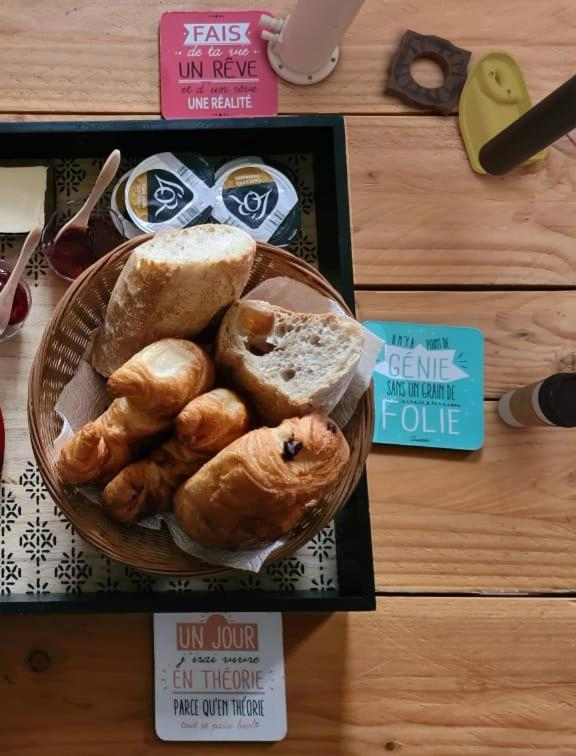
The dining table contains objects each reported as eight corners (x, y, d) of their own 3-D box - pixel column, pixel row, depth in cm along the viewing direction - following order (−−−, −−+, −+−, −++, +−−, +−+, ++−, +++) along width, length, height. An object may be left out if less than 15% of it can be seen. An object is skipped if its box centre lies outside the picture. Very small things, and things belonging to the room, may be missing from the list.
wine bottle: (471, 148, 114) (619, 33, 84) (504, 135, 114) (662, 16, 85) (488, 181, 113) (643, 76, 84) (520, 168, 114) (686, 59, 84)
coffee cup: (550, 407, 122) (617, 396, 108) (519, 444, 121) (583, 438, 107) (510, 373, 123) (572, 358, 108) (479, 410, 122) (537, 399, 107)
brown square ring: (378, 95, 130) (383, 89, 128) (400, 31, 132) (405, 24, 130) (449, 121, 130) (455, 115, 128) (470, 56, 132) (476, 50, 130)
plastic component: (549, 158, 126) (516, 160, 122) (507, 175, 133) (475, 178, 128) (517, 50, 128) (483, 48, 123) (477, 73, 134) (444, 72, 129)
